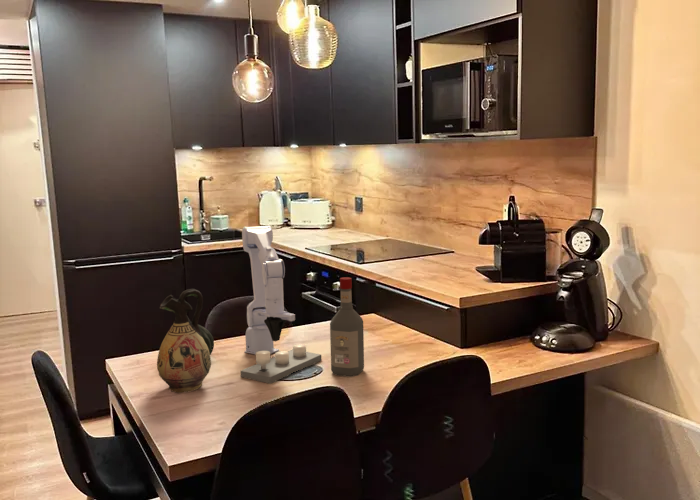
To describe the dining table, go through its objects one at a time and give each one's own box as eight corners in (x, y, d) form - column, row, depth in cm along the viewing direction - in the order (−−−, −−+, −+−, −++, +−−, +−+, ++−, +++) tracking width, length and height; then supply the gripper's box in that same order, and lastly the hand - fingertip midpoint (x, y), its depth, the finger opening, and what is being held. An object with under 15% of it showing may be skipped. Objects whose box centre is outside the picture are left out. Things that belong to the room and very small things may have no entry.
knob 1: (253, 369, 202) (252, 353, 201) (262, 365, 205) (262, 349, 205) (264, 371, 199) (263, 355, 199) (273, 367, 203) (273, 352, 202)
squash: (196, 335, 231) (174, 310, 220) (228, 342, 223) (207, 317, 213) (174, 369, 223) (150, 345, 213) (207, 378, 216) (184, 354, 205)
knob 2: (290, 361, 217) (290, 346, 216) (298, 357, 220) (298, 343, 220) (301, 363, 214) (300, 348, 214) (309, 359, 218) (308, 345, 217)
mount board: (240, 376, 203) (240, 370, 202) (293, 354, 224) (293, 349, 224) (270, 383, 196) (269, 377, 196) (321, 360, 217) (321, 354, 217)
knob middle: (272, 368, 209) (272, 353, 209) (281, 365, 213) (281, 350, 212) (283, 371, 207) (282, 356, 206) (292, 367, 211) (291, 352, 210)
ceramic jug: (162, 400, 184) (156, 297, 180) (155, 383, 198) (149, 287, 194) (222, 391, 191) (217, 290, 186) (211, 375, 205) (206, 281, 200)
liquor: (356, 377, 200) (354, 281, 195) (328, 375, 203) (326, 280, 198) (366, 368, 208) (364, 276, 204) (339, 365, 211) (337, 275, 207)
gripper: (248, 298, 205) (250, 340, 207) (284, 303, 197) (285, 346, 199) (263, 294, 211) (264, 335, 213) (298, 298, 203) (300, 341, 205)
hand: (275, 340), depth 206 cm, fingers closed
